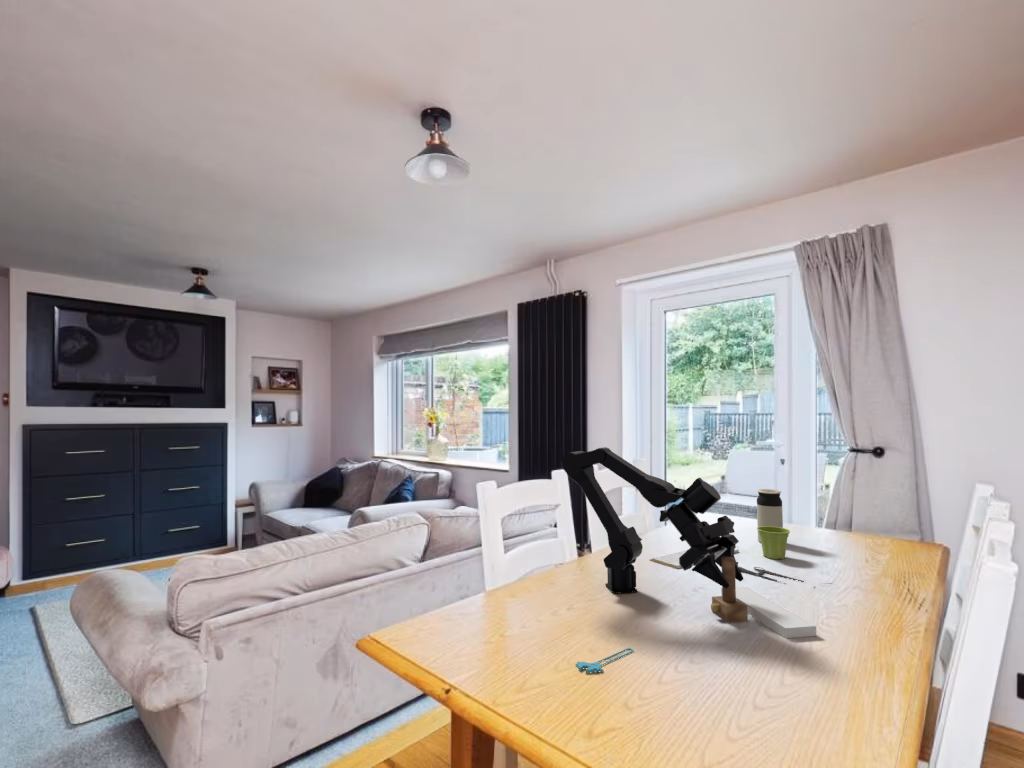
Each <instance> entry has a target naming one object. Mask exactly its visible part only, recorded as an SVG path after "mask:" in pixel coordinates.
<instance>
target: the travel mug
mask: <svg viewBox="0 0 1024 768" xmlns="http://www.w3.org/2000/svg"><path fill="white" fill-rule="evenodd" d="M756 491H757V493H758V494H757V495H758V496H757V498H756V516H757V518H756V521H757V527H761V526H773V527H780V528H784V522H783V520H784V519H783V517H784V516H783V500H782V498H781V497H780V496H781V493H782V491H780V490H778V489H772V488H771V489H770V488H769V489H768V488H762V489H761V488H760V489H757V490H756ZM757 542H759V543H761V539H760V534H759V531H758V530H757Z"/></svg>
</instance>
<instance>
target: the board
mask: <svg viewBox="0 0 1024 768" xmlns="http://www.w3.org/2000/svg"><path fill="white" fill-rule="evenodd" d="M720 592H721V595H722V587H721V591H720ZM736 598H737V599H738V600H740V601H742V602H743V603H745V604H746V605H747V613H748V615H749V616H751V617H753V618H754V619H756V620H757V621H759V622H760V623H761V624H764V625H765V626H766V627H768V628H770V629H771V630H772V631H774V632H776V633H777V634H779V635H780V636H782V637H783V638H784V639H789V638H790V639H793V638H805V637H806V638H807V637H816V636H817V625H815V624H814V623H812V622H810V621H808V620H807V619H805V618H803V617H801V616H800V615H798V614H796V613H795V612H793V611H791V610H789V609H787V608H785V607H784V606H782V605H780V604H779V603H777V602H775V601H773V600H771V599H770V598H767V596H765V595H762V594H761V593H759V592H758V591H755V590H754V589H752V588H751V587H749V586H736Z"/></svg>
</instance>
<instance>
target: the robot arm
mask: <svg viewBox="0 0 1024 768" xmlns="http://www.w3.org/2000/svg"><path fill="white" fill-rule="evenodd" d="M560 464H561V468H562V470H563V471H564V472H565V474H567V476H568V477H569V478H570V479H571V480H573V481H574V482H575V483H576V484H578V486H579V487H580V488H581V490H582V492H583V493H584V495H585V497H586V499H587V500H588V502H589V504H590V506H591V507H592V509H593V510H594V512H595V514H596V516H597V517H598V519H599V521H600V523H601V524H602V526H603V528H604V529H605V532H606V534H607V535H606V536H607V540H608V546H609V548H610V551H611V552H610V553H609V554H607V555H606V556H605V557H604V558H603V563H604V566H605V568H606V571H607V582H606V583H605V587H606V588H608V590H609V591H610V592H611V593H612V594H626V593H627V594H628V593H637V592H638V590H637V571H635V566H634V565H633V564H635V563H636V561H637V558H639V556H641V554H642V553H643V543H642V542H641V541H642V540H643V538H641V537H640V535H638V533H637V531H636V528H635V526H630V527H627V526H626V525H625V524H624V523H623V522H622V520H621V519H620V516H619V515H618V513H617V512H616V510H615V508H614V507H613V505H612V504H611V502H610V500H609V498H608V497H607V495H606V494H605V492H604V490H603V488H602V487H601V485H600V483H599V481H598V480H597V478H596V476H595V475H596V474H595V468H594V465H597V464H600V465H602V466H603V467H605V468H607V469H608V470H609V471H611V472H612V473H613V474H615V475H616V476H618V477H620V478H621V479H623V480H624V481H625V482H627V483H628V484H630V485H632V486H633V487H634V488H636V489H637V490H638V492H639V493H640V494H641V496H642V498H644V500H646V501H647V502H648V503H649V504H650V505H651V506H652V507H655V508H656V509H657V508H664V507H666V506H668V505H670V504H671V506H669V507H668V508H667V509H666V510H665V509H662V510H660V515H659V522H663V523H664V522H669V521H670V523H671V524H672V526H674V528H675V529H676V530H677V532H678V533H679V535H680V537H679V540H680V541H681V542H686V543H687V545H688V546H689V548H688V549H686V550H687V551H686V552H685V553H684V554H683V555H682V556H681V557H680V558H679V564H680V565H681V567H682V569H683V571H688V570H690V569H691V571H692V572H695V573H698V574H699V575H702V576H703V577H706V578H707V579H708V580H711V581H713V582H714V583H716V584H717V585H719V586H721V587H722V586H723V587H724V588H728V587H729V586H730V585H729V583H728V581H727V580H726V578H725V577H724V575H723V574H722V570H721V569H720V568H722V557H732V558H735V562H737V560H736V557H735V553H734V549H737V548H736V547H737V546H736V545H737V544H738V543H739V542H740V540H739V539H738V538H737V537H736V536H735V535H734V533H735V529H734V527H735V522H734V521H732V519H731V518H729V517H728V516H727V515H723V516H720V517H717V520H716V521H717V522H715V523H711V524H709V523H708V522H707V521H705V520H703V521H701V520H700V519H699V517H698V516H697V515H696V514H698V513H699V514H701V515H704V514H705V513H706V512H707V511H708V510H709V509H711V508H712V507H713V506H714V505H716V503H718V502H719V501H720V500H721V499H722V497H721V495H720V493H719V492H718V491H717V489H716V488H715V487H714V486H713V485H710V483H708V482H706V481H705V480H703V479H702V477H697V478H696V479H695V480H693V482H692V484H690V486H689V487H687V488H686V489H684V488H683V489H682V488H679V487H675V485H674V484H672V483H671V482H669V481H667V480H664V479H662V478H660V477H656V476H653V475H651V474H647V473H645V472H644V471H643V470H641V469H639V468H638V467H636V466H635V465H633V464H632V463H630V462H628V461H627V460H626V459H624V458H623V457H621V456H619V455H618V454H616V453H615V452H613V451H612V450H611V449H610V448H609V447H607V446H605V447H599V448H598V447H597V448H596V449H594V450H593V449H592V450H590V451H582V450H579V451H578V450H577V451H572V452H570V451H569V452H567V453H565V454H564V455H563V456H562V458H561V463H560ZM678 501H680V502H679V503H677V504H676V502H678ZM672 503H673V504H672ZM715 557H716V558H715ZM692 564H693V565H694V566H693V565H692ZM692 567H693V568H692ZM719 567H720V568H719ZM739 567H740V566H739V564H738V565H735V580H737V581H739V582H742V581H744V576H743V573H742V572H740V569H739Z"/></svg>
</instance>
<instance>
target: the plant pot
mask: <svg viewBox="0 0 1024 768" xmlns="http://www.w3.org/2000/svg"><path fill="white" fill-rule="evenodd" d="M756 531H757V532H758V531H759V534H760V539H761V542H760V543H761V548H762V549H761V550H762V555H763V557H766V558H767V559H772V560H779V559H781V560H784V559H785V558H786V554H787V553H786V551H787V544H788V537H789V534H790V533H791V530H790V529H788V528H785V527H783V528H780V527H773V526H761V527H758V526H756Z"/></svg>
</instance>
